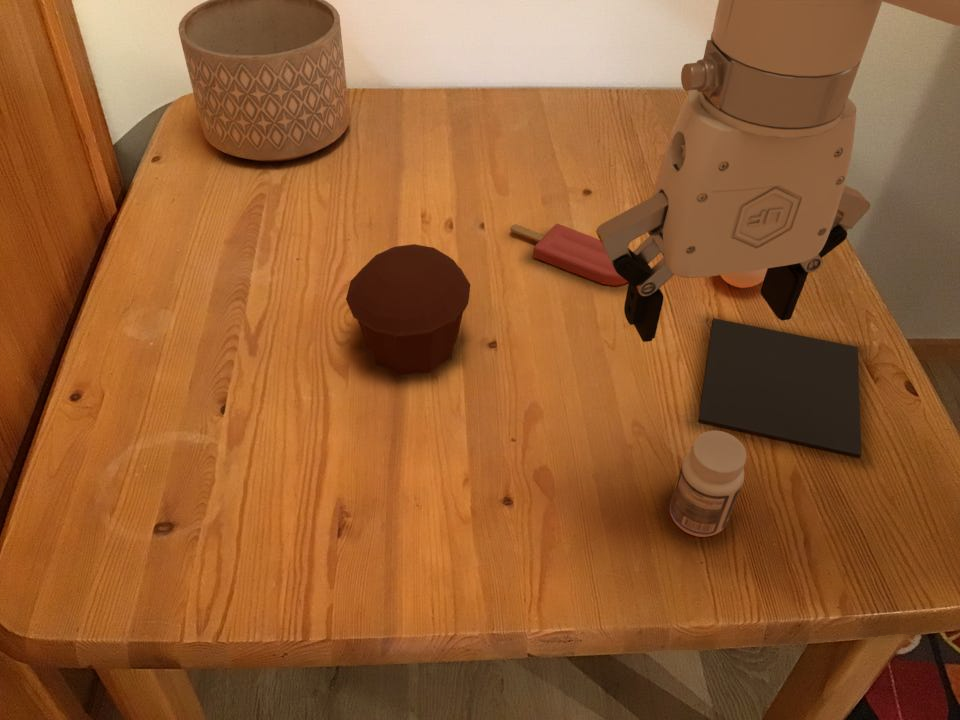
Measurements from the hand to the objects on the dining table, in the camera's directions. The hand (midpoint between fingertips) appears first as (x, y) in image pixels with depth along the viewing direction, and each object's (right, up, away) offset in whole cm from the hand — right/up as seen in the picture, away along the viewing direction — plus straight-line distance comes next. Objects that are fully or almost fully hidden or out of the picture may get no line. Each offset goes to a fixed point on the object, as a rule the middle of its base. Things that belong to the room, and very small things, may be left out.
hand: (708, 316), depth 57 cm
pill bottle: (+3, -16, +13) cm, 20 cm away
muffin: (-22, -1, +26) cm, 34 cm away
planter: (-41, +27, +53) cm, 73 cm away
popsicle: (-5, +8, +36) cm, 38 cm away
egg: (+12, +5, +34) cm, 36 cm away
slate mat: (+13, -5, +23) cm, 27 cm away
